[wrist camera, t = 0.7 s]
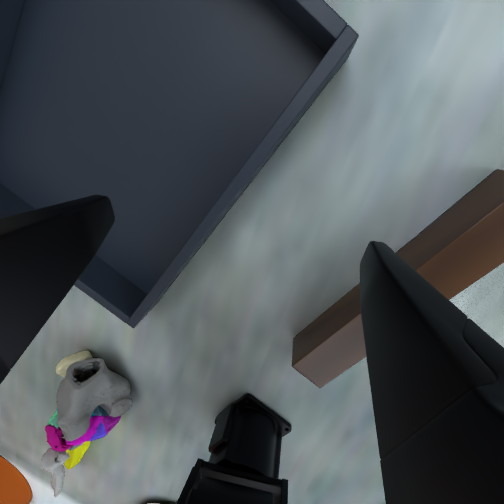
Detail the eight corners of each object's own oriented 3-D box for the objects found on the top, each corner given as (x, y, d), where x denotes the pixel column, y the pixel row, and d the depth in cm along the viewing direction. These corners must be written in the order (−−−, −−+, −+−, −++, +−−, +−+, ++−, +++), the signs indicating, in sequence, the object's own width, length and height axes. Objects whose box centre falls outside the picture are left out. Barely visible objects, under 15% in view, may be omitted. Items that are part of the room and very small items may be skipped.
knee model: (89, 415, 45) (108, 321, 32) (117, 459, 42) (149, 375, 29) (20, 463, 38) (6, 366, 24) (47, 518, 35) (48, 444, 22)
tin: (348, 56, 17) (359, 34, 14) (156, 303, 28) (133, 328, 24) (75, -205, 15) (2, -314, 12) (-24, 167, 25) (-80, 172, 22)
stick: (529, 200, 18) (577, 212, 15) (318, 357, 26) (319, 388, 23) (496, 168, 18) (538, 174, 15) (293, 338, 26) (291, 366, 23)
